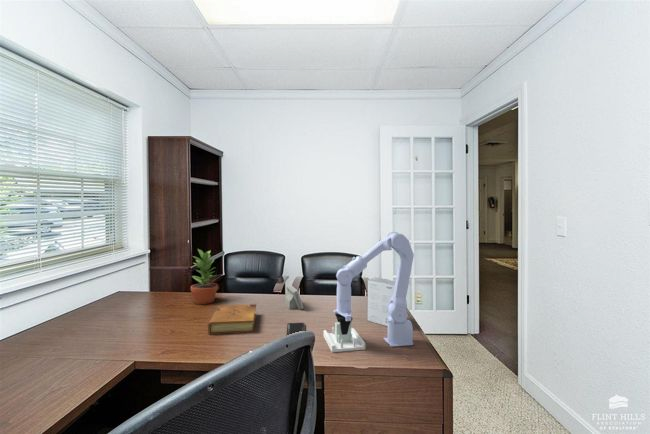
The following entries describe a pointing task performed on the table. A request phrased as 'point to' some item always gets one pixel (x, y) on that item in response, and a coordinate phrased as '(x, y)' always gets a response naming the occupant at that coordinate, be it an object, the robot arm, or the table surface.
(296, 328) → the phone
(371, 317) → the hard drive box
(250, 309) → the diary
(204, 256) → the potted plant
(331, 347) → the dish rack
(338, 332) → the block
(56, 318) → the table surface
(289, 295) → the grey angular sculpture
